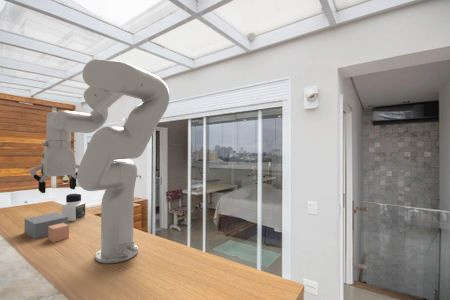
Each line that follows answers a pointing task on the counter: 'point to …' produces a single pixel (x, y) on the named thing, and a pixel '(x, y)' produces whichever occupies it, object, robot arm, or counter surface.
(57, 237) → the terracotta cube
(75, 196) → the medicine bottle
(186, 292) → the counter surface
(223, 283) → the counter surface
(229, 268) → the counter surface
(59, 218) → the grey block
